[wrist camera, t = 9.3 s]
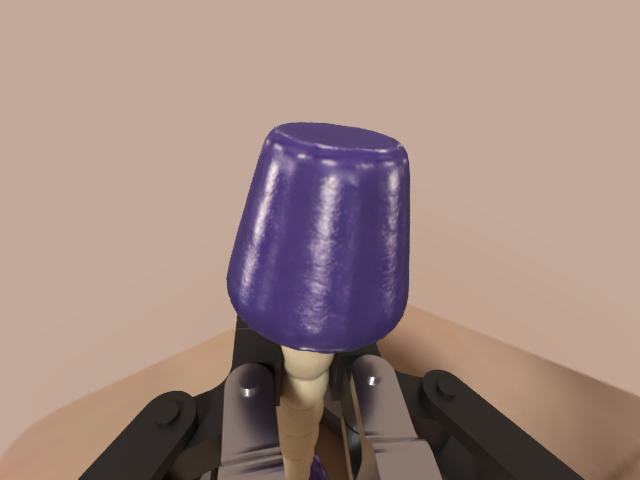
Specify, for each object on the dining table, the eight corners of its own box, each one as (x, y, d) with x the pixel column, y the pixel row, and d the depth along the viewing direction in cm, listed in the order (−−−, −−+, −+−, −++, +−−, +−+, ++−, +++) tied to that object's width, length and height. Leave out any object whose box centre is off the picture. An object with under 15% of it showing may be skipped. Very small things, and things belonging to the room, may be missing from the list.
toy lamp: (293, 422, 17) (318, 108, 9) (361, 487, 15) (483, 142, 7) (221, 501, 14) (153, 118, 6) (294, 601, 12) (365, 195, 3)
